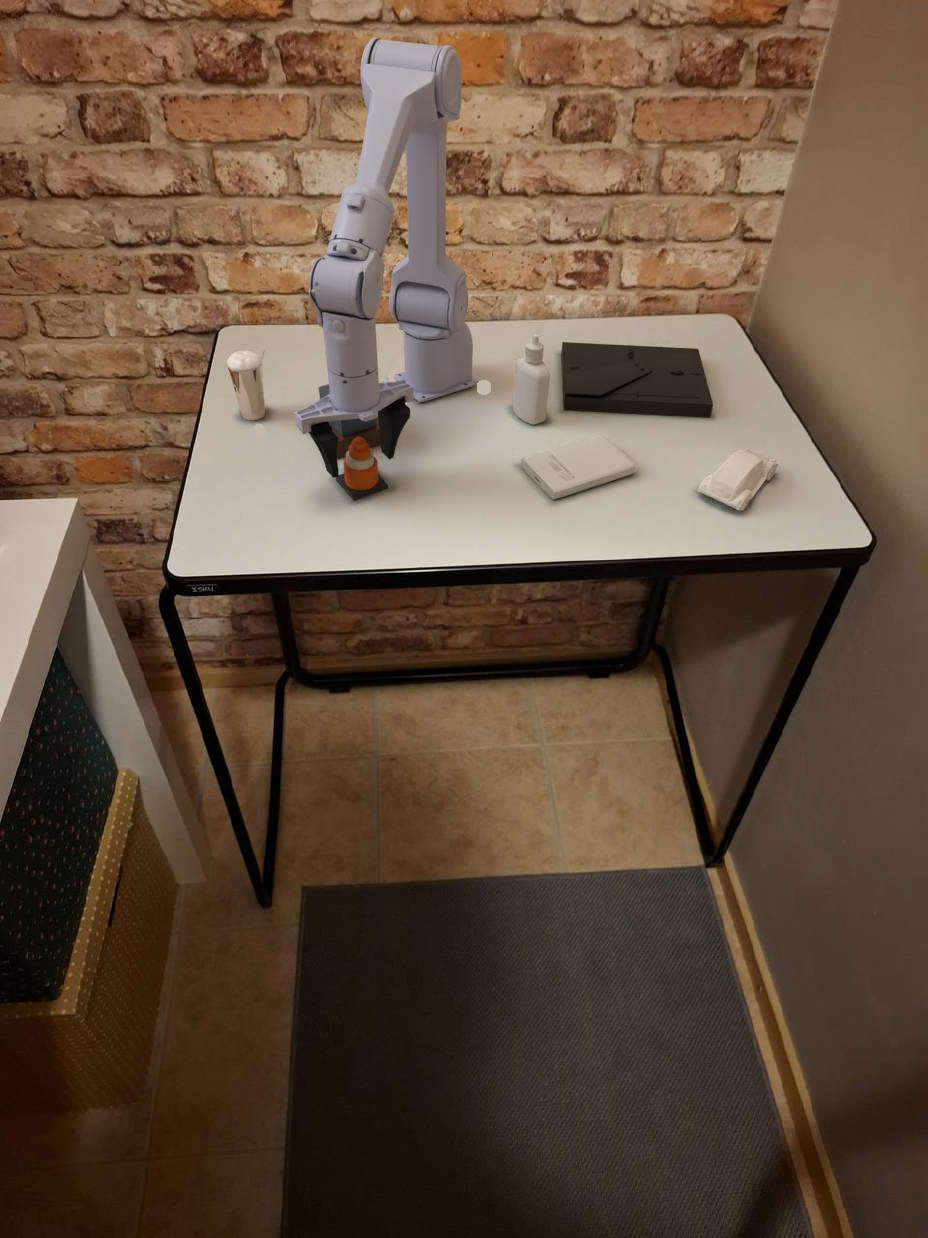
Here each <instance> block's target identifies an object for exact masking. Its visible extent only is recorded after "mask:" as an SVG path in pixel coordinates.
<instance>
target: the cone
mask: <svg viewBox="0 0 928 1238" xmlns="http://www.w3.org/2000/svg"><path fill="white" fill-rule="evenodd" d="M335 481H336V482H337V483H338V484H339V486H340V487H341V488H342V489H343V490H344V492H345V493H346V494H347V495H348V496H349V498H350V499H351V500H352V501H357V500H360V499H363V498H365V497H368V496H371V495H374V494H376V493H379V492H383V491H386V490H389V486H390V485H389V484H388V483H387V482H386V480H385V479H384V478H383V477H382V475H380V473H379V467H378V459H377V458H376V456H374V451H373V450H372V448H370V446H369V444H367V443H366V440H365V439H363V438H361V437H356V438H355V439H353V440H352V442H351V444H350V446H349V450H348V451H347V453H346V456H345V458H344V460H343V473H341V474H339V475H338V477H335Z"/></svg>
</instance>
